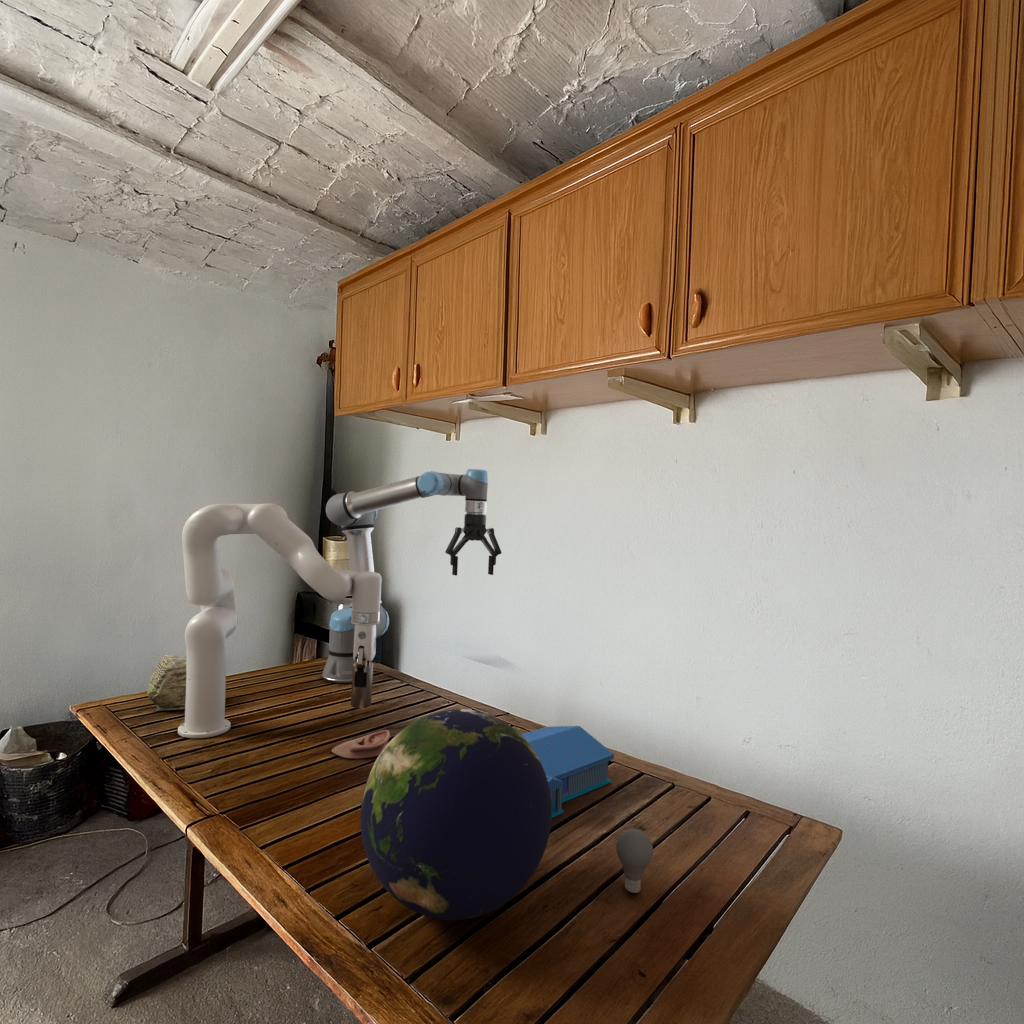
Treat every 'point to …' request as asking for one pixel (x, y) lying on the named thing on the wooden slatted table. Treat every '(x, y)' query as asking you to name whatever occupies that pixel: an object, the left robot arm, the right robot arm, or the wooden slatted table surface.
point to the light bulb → (634, 857)
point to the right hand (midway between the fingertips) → (472, 574)
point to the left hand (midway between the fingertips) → (361, 682)
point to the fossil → (169, 683)
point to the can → (362, 689)
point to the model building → (570, 762)
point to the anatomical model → (363, 746)
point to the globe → (456, 814)
